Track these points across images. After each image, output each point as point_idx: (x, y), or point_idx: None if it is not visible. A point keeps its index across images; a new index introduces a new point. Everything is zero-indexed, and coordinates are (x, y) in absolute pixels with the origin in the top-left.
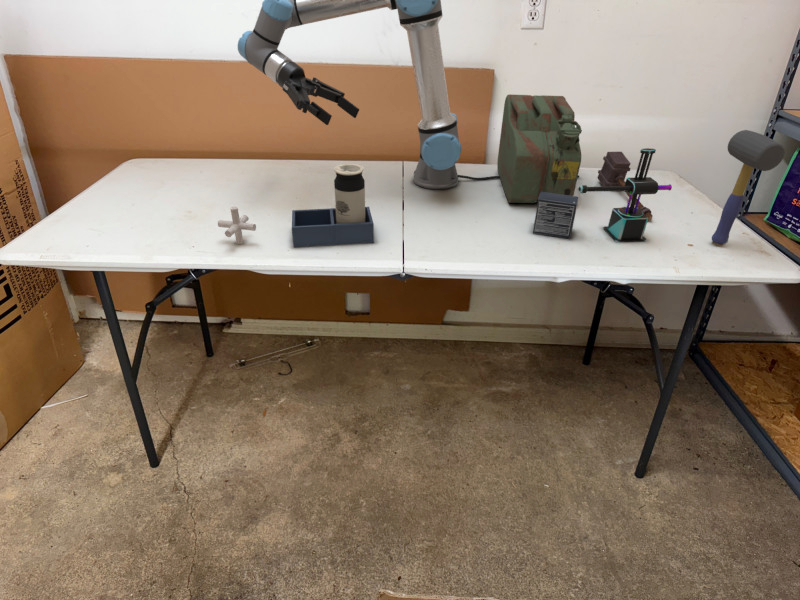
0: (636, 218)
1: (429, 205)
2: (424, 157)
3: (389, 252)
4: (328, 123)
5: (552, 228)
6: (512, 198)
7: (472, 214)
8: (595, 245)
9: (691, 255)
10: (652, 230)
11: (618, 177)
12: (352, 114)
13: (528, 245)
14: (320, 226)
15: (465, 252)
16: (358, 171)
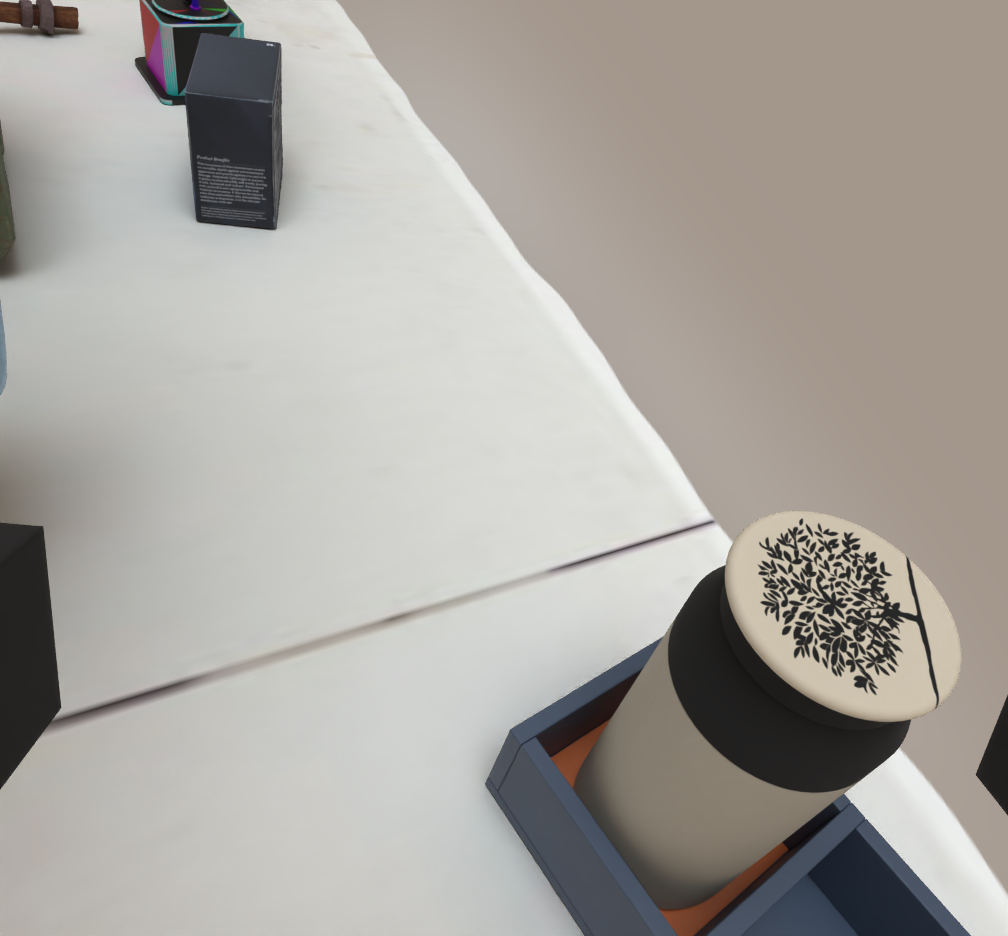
0: (229, 7)
1: (74, 567)
2: (2, 373)
3: (680, 588)
4: (997, 751)
5: (279, 169)
6: (14, 236)
7: (152, 383)
8: (298, 131)
9: (275, 25)
10: (143, 39)
11: None
12: (17, 725)
13: (374, 241)
14: (919, 879)
15: (519, 371)
16: (837, 521)
